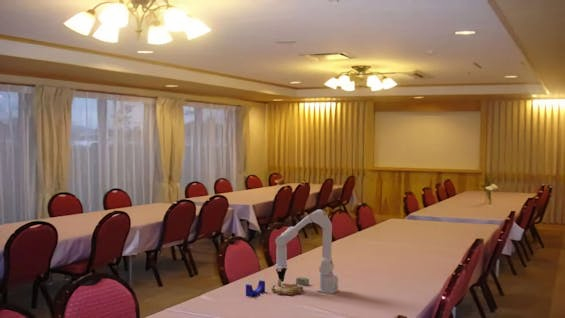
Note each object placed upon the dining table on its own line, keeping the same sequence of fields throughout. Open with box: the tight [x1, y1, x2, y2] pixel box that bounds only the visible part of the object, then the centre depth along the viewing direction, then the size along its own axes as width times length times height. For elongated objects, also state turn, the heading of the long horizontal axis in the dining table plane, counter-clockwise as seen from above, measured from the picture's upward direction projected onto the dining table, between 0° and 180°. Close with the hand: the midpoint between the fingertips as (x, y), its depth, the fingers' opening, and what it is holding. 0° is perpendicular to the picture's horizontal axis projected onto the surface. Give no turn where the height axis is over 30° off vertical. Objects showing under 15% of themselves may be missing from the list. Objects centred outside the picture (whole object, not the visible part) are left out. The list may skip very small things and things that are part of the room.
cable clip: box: [245, 279, 266, 298], centre depth 295 cm, size 12×4×6 cm, turn 142°
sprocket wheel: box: [271, 279, 304, 296], centre depth 301 cm, size 17×17×5 cm
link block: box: [295, 276, 310, 287], centre depth 315 cm, size 6×4×4 cm, turn 51°
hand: (281, 281), depth 309 cm, fingers closed
